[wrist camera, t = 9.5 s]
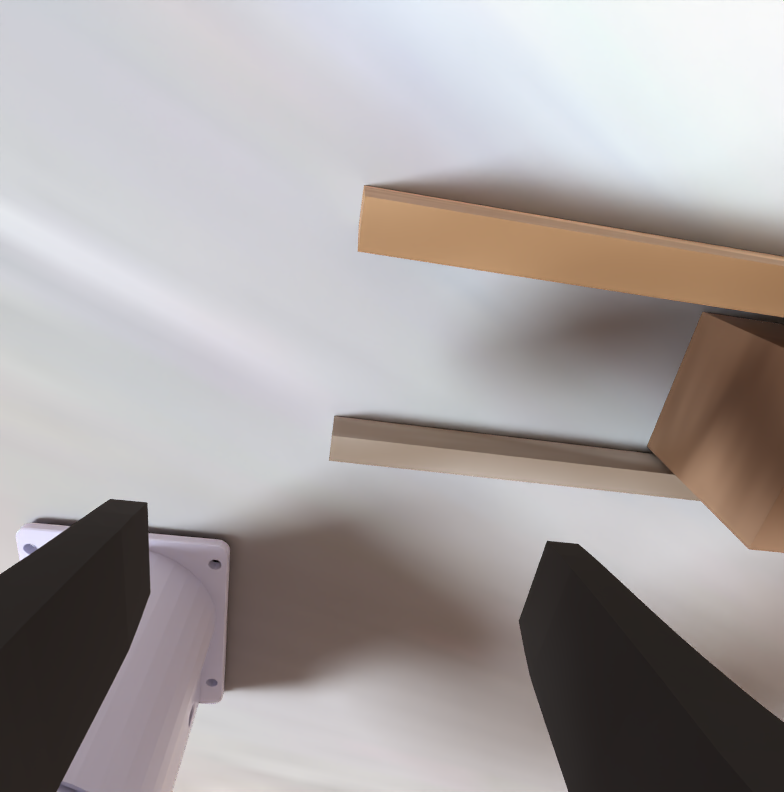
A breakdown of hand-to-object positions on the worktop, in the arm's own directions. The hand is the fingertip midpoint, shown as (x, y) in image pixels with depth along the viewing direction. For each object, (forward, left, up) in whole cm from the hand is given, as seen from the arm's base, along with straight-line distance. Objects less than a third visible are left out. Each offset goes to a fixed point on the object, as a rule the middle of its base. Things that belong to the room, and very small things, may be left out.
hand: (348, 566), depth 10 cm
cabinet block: (+1, -14, -10) cm, 17 cm away
